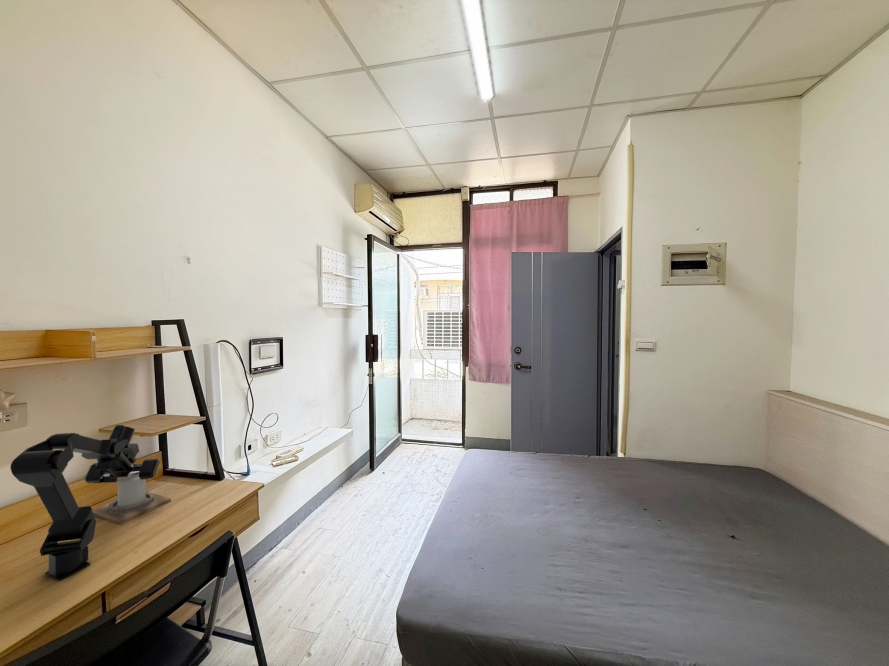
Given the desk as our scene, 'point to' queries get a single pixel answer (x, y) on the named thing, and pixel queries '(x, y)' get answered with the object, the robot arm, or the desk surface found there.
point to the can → (131, 490)
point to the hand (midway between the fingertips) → (132, 479)
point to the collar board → (132, 514)
